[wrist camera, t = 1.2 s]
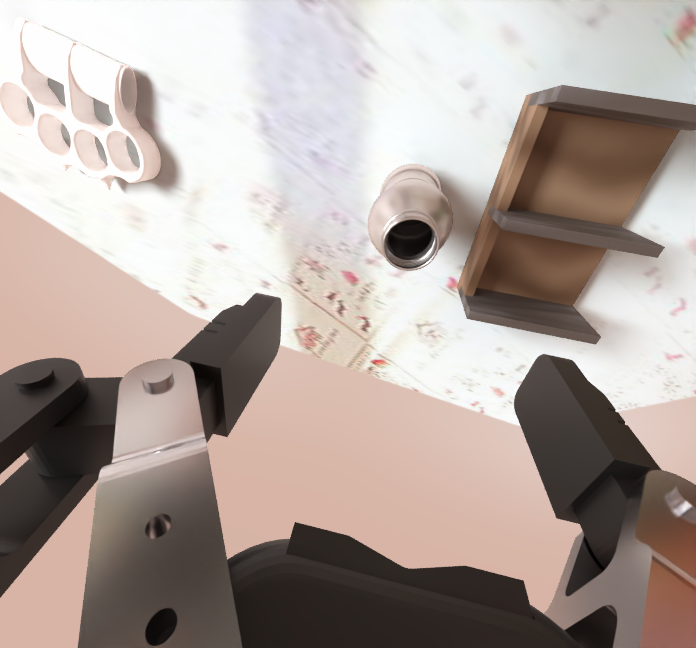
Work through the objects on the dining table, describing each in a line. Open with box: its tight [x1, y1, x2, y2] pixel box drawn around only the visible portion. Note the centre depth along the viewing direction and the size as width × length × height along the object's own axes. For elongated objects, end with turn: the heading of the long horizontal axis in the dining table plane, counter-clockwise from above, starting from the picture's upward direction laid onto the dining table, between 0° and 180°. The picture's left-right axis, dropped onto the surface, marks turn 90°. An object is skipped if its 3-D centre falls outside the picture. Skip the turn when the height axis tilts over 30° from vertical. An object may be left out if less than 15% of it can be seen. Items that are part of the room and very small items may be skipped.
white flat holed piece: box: [0, 17, 161, 189], centre depth 37 cm, size 3×18×15 cm
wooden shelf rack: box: [457, 85, 696, 344], centre depth 32 cm, size 21×14×8 cm, turn 172°
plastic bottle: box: [368, 164, 453, 271], centre depth 29 cm, size 6×7×20 cm
